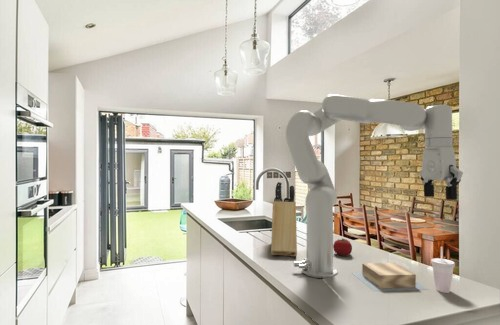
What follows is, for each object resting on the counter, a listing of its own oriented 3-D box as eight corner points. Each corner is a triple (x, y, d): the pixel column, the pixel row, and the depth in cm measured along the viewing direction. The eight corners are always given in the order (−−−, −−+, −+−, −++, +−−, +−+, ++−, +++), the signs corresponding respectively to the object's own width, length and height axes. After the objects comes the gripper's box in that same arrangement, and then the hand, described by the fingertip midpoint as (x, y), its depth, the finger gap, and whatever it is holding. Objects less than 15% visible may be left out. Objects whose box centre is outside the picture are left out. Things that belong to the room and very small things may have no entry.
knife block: (293, 239, 164) (294, 181, 165) (297, 259, 129) (298, 185, 130) (272, 238, 165) (273, 181, 166) (270, 257, 130) (271, 184, 131)
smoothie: (445, 288, 100) (445, 244, 100) (459, 296, 93) (460, 250, 93) (426, 288, 99) (426, 244, 100) (439, 296, 93) (439, 250, 93)
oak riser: (380, 288, 97) (380, 275, 97) (362, 274, 109) (362, 263, 109) (415, 287, 99) (415, 274, 99) (394, 273, 111) (394, 262, 111)
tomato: (351, 258, 131) (352, 241, 132) (332, 256, 134) (332, 239, 134) (352, 253, 139) (352, 237, 139) (333, 251, 142) (334, 235, 142)
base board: (374, 292, 95) (374, 291, 95) (351, 274, 111) (351, 273, 111) (428, 291, 97) (428, 289, 97) (398, 273, 113) (398, 271, 113)
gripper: (410, 146, 106) (411, 196, 106) (448, 142, 89) (449, 201, 89) (430, 146, 107) (431, 195, 107) (471, 142, 90) (473, 200, 90)
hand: (439, 198), depth 98 cm, fingers open, 9 cm apart
